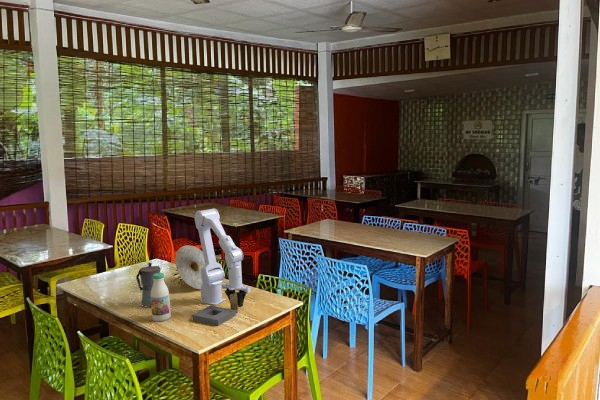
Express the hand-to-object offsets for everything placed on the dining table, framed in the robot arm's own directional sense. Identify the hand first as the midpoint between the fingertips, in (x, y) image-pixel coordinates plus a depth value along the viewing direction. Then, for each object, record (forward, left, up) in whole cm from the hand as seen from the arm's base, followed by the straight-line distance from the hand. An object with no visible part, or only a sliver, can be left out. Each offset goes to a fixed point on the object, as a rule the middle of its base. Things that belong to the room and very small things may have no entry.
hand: (236, 305), depth 210 cm
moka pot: (-42, -11, -3) cm, 43 cm away
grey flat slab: (-4, -11, -2) cm, 12 cm away
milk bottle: (-25, -21, -3) cm, 33 cm away
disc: (-43, +19, -3) cm, 47 cm away
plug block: (0, 0, -2) cm, 2 cm away
